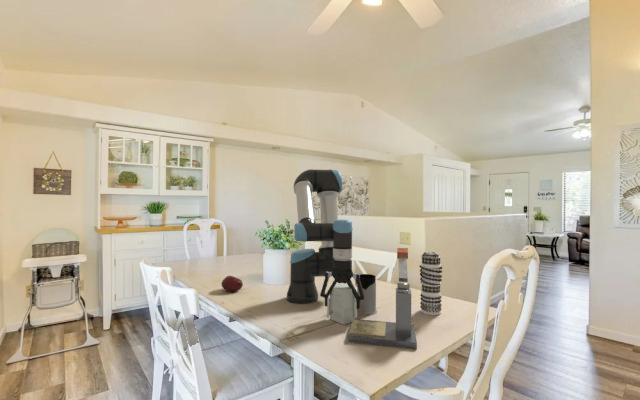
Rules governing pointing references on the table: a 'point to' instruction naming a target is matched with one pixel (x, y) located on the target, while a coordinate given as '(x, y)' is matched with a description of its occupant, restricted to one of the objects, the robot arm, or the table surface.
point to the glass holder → (367, 294)
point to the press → (388, 327)
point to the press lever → (402, 268)
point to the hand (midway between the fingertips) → (342, 315)
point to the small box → (342, 304)
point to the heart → (232, 284)
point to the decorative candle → (430, 283)
